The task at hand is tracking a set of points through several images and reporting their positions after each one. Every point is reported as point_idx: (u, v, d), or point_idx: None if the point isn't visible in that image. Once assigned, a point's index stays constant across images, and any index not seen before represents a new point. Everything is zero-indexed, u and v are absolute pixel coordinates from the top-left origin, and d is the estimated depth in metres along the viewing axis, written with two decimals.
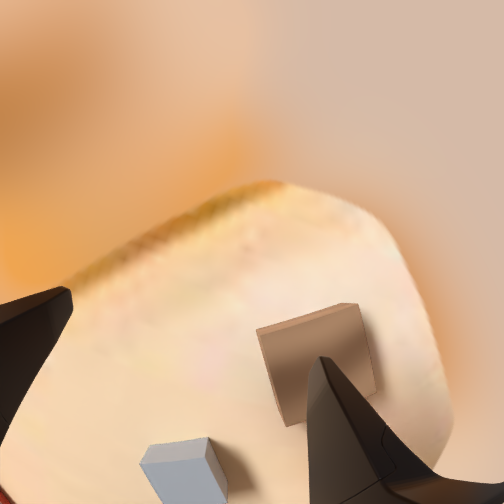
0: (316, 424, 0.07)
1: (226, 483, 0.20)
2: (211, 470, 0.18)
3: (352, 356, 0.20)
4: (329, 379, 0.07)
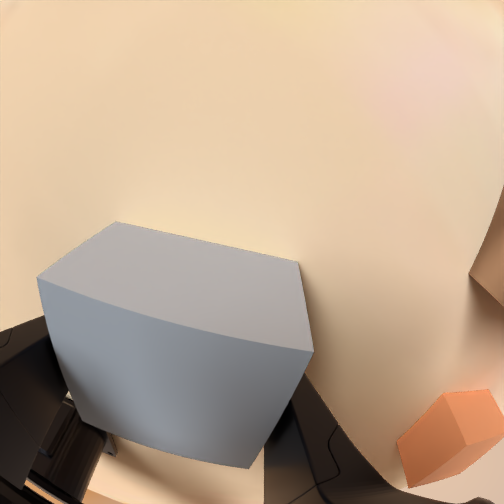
0: None
1: None
2: None
3: None
4: None
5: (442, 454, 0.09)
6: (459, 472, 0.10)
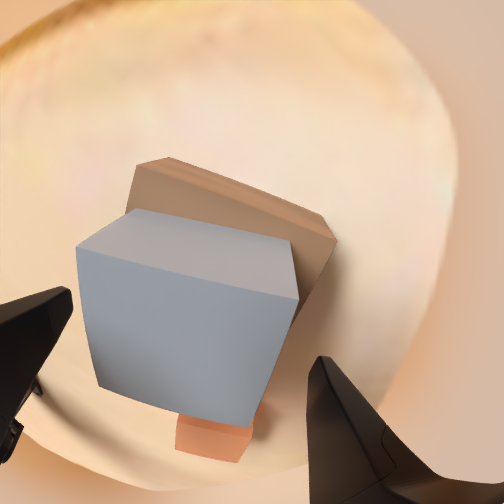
0: (316, 424, 0.07)
1: None
2: None
3: None
4: (329, 379, 0.07)
5: None
6: (232, 461, 0.17)
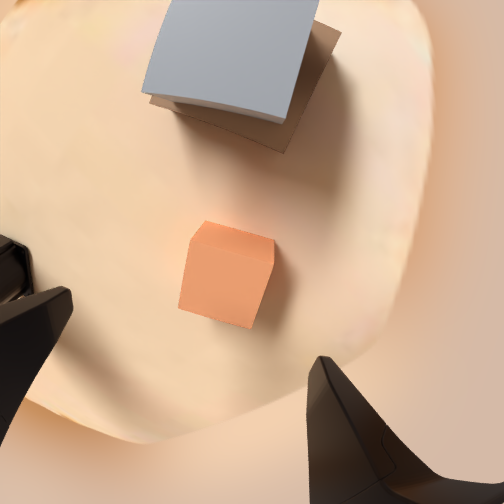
0: (316, 424, 0.07)
1: None
2: None
3: None
4: (329, 379, 0.07)
5: None
6: (246, 323, 0.18)
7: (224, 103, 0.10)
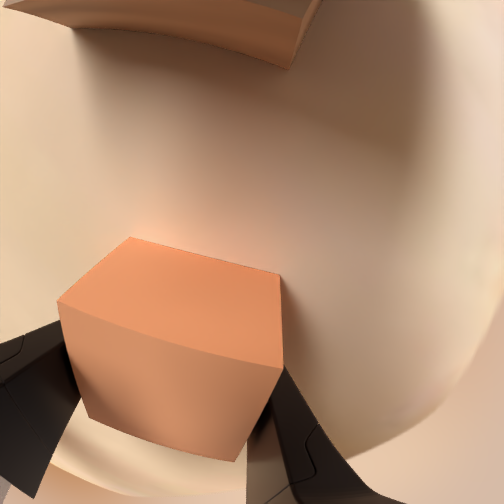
0: None
1: None
2: None
3: None
4: None
5: None
6: (223, 456, 0.07)
7: None
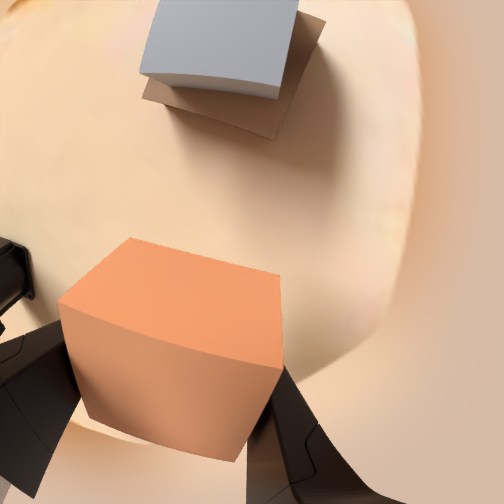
0: None
1: None
2: (297, 3, 0.08)
3: None
4: None
5: None
6: (223, 456, 0.07)
7: (220, 76, 0.10)
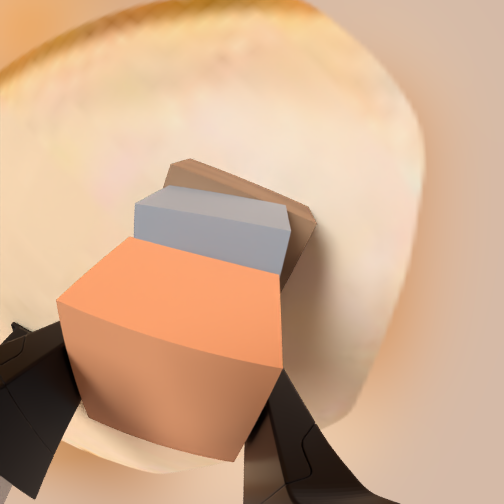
0: None
1: None
2: None
3: None
4: None
5: None
6: (223, 456, 0.07)
7: None
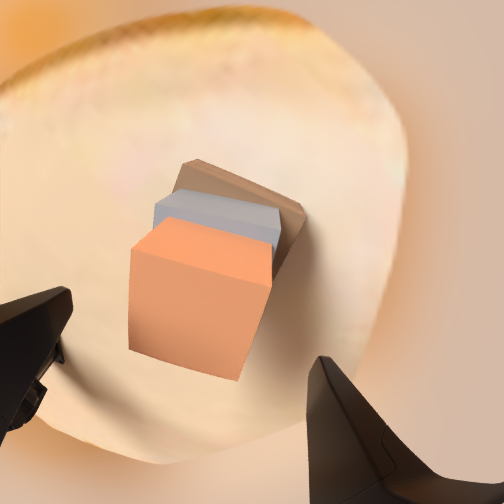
0: (316, 424, 0.07)
1: None
2: (272, 261, 0.14)
3: None
4: (329, 379, 0.07)
5: None
6: (230, 374, 0.11)
7: None
